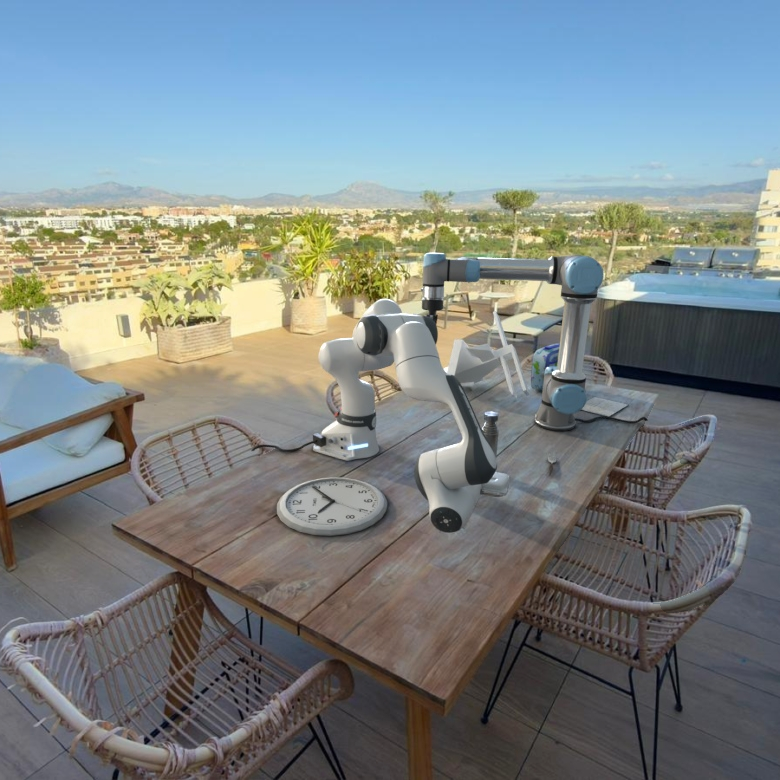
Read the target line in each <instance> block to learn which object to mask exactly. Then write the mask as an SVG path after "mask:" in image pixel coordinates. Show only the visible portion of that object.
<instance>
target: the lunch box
mask: <svg viewBox="0 0 780 780" xmlns="http://www.w3.org/2000/svg"><path fill="white" fill-rule="evenodd" d="M559 346H560V343H553V344H550V345H547V346H546V345H545V346H544V347H541V348H538V349H537V350H536V351H535V352H534V354H533V357H532V362H531V371H530V372H531V374H530V387H531V389H533V390H539V391H543V382H544V373H545V369H546V368H547V367H553V366H557V364H558V355H559Z"/></svg>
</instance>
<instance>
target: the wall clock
mask: <svg viewBox="0 0 780 780" xmlns="http://www.w3.org/2000/svg"><path fill="white" fill-rule="evenodd" d="M387 509H388V500H387V498H386V496H385V494H384V493H383V492H382V491H381V490H380V489H379V488H377V487H376V486H374V485H372V484H371V483H369V482H365V481H362V480H359V479H355V478H349V477H338V476H337V477H335V476H333V477H332V476H331V477H322V478H317V479H312V480H307V481H305V482H302V483H299V484H297V485H295V486H293V487H292V488H290V489H288V490H287V491H286V492H285V493H284V494H283V495H281V496H280V498H279V499H278V502H277V503H276V515H277V517H278V518H279V520H280V521H281V522H282V523H283V524H285V525H286V526H287V527H288V528H290V529H293V530H295V531H297V532H299V533H303V534H308V535H312V536H327V537H328V536H329V537H331V536H332V537H333V536H342V535H350V534H352V533H356V532H361V531H363V530H366V529H368V528H369V527H372V526H373V525H375V524H376V523H378V522H379V521H380V520H381V519H382V518H383V517H384V516H385V514H386V512H387Z"/></svg>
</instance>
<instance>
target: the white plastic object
mask: <svg viewBox="0 0 780 780" xmlns="http://www.w3.org/2000/svg"><path fill="white" fill-rule="evenodd" d="M492 315H493V319H494V321H495V324H496V325H495V326H496V328H497V332H498V335H499V338H500V342H501V345H502V347H500V348H498V349H496V350H495V349H493V348H492V347H491V346H490V344H489V343H488V342H487V343H483V344H479V345H473V346H469V345H468V343H466V342H465V340H464V339H463V338H460V339H458V338H454V340H453V344H452V349H451V353H450V357H449V362H448V366H446V367H443V369H444V370H445V372H446V373H447V374H451V375H454V376H455V377H456V378H457V379H458V381H459V382H460V384H467V383H468V384H469V383H473V384H477V383H480V382H482V381H484V378H485V377H486V376H487V375H489V374H490V373H492V372H494V371H495V370H496V369H497V368H499V367H500V366H502V370H503V373H504V376H505V380H506V383H507V386H508V390H509V393H510V394H511V395H512V397H513V398H514V399H515V400H517V392H516V391H517V390H516V388H515V385H514V381H513V378H512V375H511V371H510V369H509V365H508V361H510V360H513V363H514V366H515V369H516V372H517V376H518V380H519V382H520V385H521V389H522V391H523V393H524V395H525V396H526V397H528V396H531V395H530V390H529V388H528V387H529V386H528V384H527V381H526V378H525V375H524V371H523V369H522V368H523V367H522V366H521V362H520V359H519V355H518V352H517V349H516V347H515V346H514V345H513V343H511V344H508V341H507V337H506V334H505V331H504V328H503V325H502V321H501V318H500V315H499V314H498V312H497V311H496V310H495V311H492Z"/></svg>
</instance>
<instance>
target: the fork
mask: <svg viewBox="0 0 780 780" xmlns="http://www.w3.org/2000/svg"><path fill="white" fill-rule="evenodd" d="M557 458H558V452H556V454H555V451H554V452H553V454H551V453H549V454H548V460H547V461H548V462H549V463H550V465H549V467H548V472H549V473H548V474H549V477H551V474H552V472H553V469H554V465H553V464H554V463H556V462H557Z"/></svg>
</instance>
